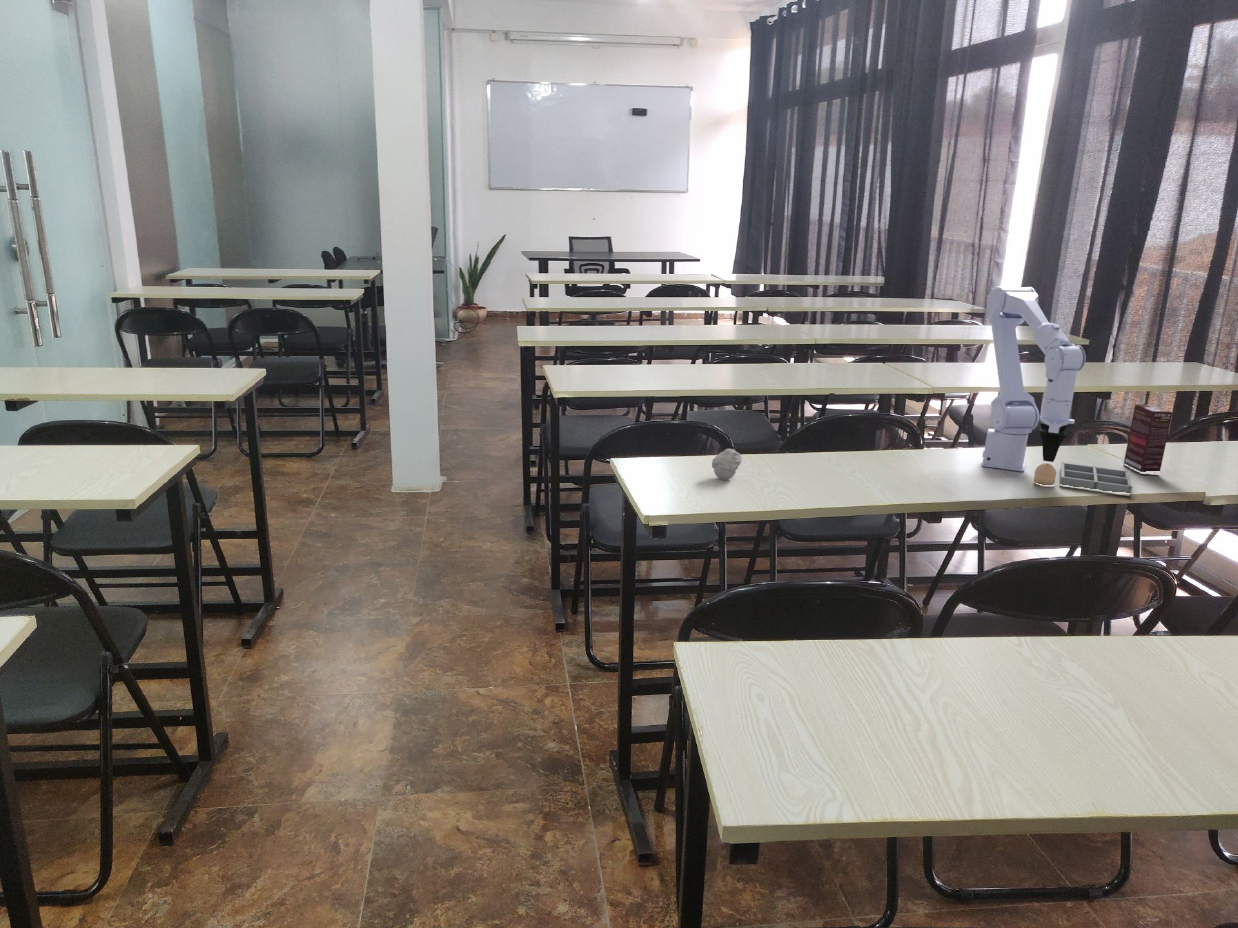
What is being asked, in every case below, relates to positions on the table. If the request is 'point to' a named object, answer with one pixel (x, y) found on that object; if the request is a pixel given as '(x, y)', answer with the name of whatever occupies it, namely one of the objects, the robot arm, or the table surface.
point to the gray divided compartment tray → (1095, 478)
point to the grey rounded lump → (726, 464)
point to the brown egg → (1045, 474)
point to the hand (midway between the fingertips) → (1048, 457)
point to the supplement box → (1147, 437)
